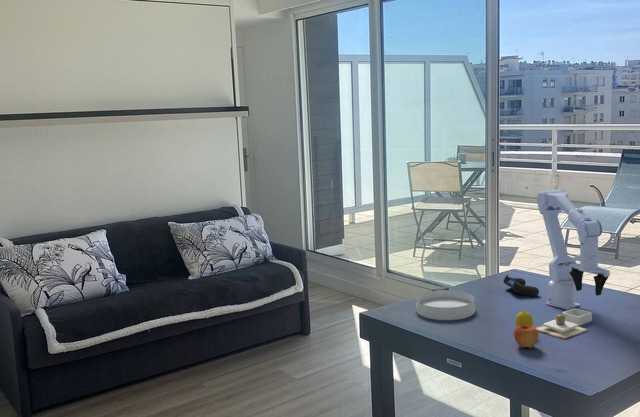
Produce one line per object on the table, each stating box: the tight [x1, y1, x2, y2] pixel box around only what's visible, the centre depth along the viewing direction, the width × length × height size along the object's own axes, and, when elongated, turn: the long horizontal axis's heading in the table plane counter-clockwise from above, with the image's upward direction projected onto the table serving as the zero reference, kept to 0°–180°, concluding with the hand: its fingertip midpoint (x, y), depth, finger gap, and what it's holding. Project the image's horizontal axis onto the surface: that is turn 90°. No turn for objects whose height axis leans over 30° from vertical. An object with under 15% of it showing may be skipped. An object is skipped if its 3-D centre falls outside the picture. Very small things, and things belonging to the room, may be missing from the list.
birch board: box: [535, 324, 588, 341], centre depth 217 cm, size 12×12×1 cm
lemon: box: [515, 310, 534, 328], centre depth 215 cm, size 6×6×8 cm
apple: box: [513, 323, 539, 349], centre depth 204 cm, size 7×7×8 cm
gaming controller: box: [503, 274, 540, 297], centre depth 261 cm, size 17×6×10 cm
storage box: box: [561, 307, 593, 327], centre depth 224 cm, size 7×7×3 cm
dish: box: [415, 289, 476, 321], centre depth 243 cm, size 22×22×5 cm
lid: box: [542, 313, 579, 333], centre depth 216 cm, size 8×8×5 cm
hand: (588, 292), depth 225 cm, fingers open, 7 cm apart
